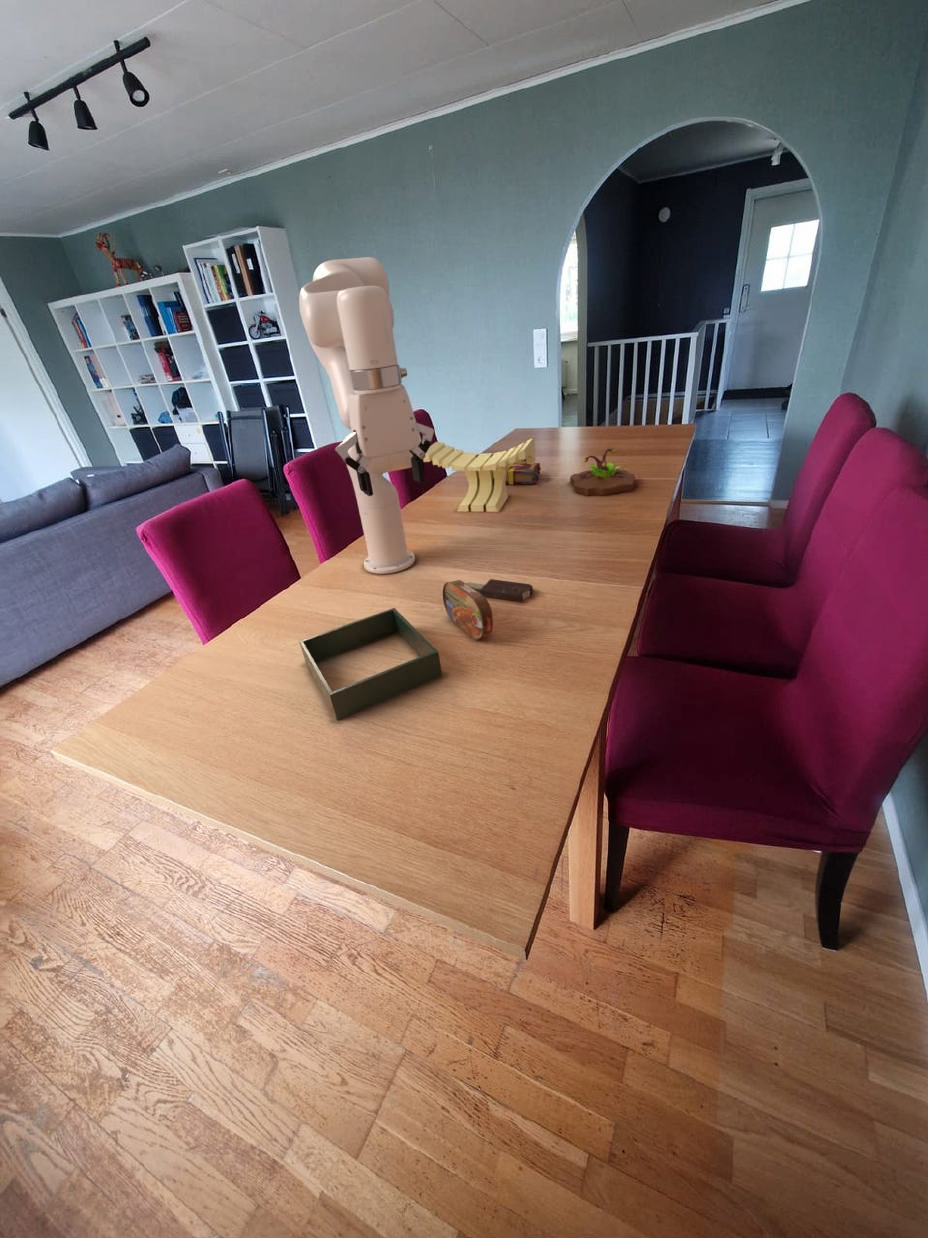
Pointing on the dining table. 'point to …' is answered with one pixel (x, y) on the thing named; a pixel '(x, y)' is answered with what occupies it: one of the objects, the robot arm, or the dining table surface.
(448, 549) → the dining table surface
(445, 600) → the tin
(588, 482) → the plant
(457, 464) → the slatted curved stool
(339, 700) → the box
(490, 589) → the ice cream bar
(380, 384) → the robot arm
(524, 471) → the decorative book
